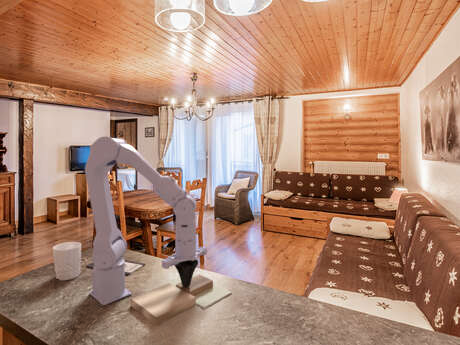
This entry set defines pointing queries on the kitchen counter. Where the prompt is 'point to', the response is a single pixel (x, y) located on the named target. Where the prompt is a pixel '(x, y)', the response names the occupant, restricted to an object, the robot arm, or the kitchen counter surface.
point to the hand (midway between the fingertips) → (185, 285)
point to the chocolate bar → (126, 266)
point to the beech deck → (163, 303)
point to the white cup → (67, 260)
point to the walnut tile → (197, 285)
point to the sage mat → (207, 294)
